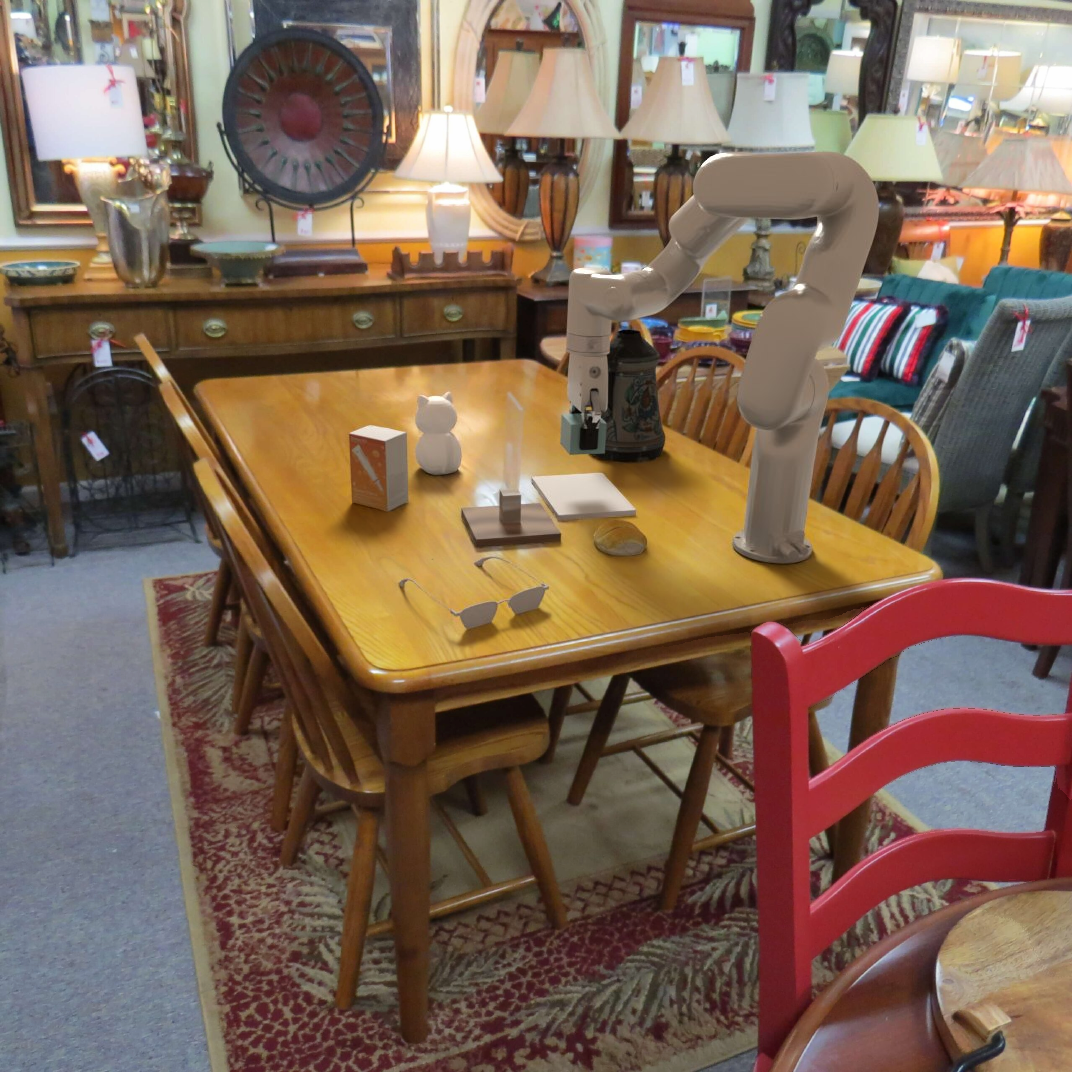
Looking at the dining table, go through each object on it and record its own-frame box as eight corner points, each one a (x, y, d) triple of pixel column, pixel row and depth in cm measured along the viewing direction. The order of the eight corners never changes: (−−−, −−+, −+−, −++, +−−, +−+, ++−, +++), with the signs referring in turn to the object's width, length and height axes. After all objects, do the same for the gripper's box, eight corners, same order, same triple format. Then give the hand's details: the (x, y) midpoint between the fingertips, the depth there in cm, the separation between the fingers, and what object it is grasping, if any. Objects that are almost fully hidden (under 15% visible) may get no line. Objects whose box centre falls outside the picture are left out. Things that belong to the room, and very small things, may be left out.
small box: (351, 503, 173) (347, 432, 168) (373, 493, 179) (370, 423, 174) (387, 512, 170) (385, 440, 165) (409, 501, 175) (407, 431, 170)
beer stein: (669, 443, 211) (679, 327, 201) (654, 471, 193) (664, 345, 184) (594, 436, 215) (600, 321, 205) (573, 462, 197) (578, 338, 188)
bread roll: (633, 534, 164) (635, 512, 163) (652, 555, 156) (654, 532, 155) (586, 537, 162) (587, 515, 161) (602, 559, 154) (603, 536, 153)
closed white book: (635, 515, 171) (636, 509, 171) (558, 520, 168) (558, 515, 168) (601, 477, 189) (602, 472, 189) (531, 481, 186) (531, 476, 186)
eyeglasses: (456, 637, 131) (456, 610, 129) (392, 587, 144) (391, 562, 142) (549, 608, 139) (550, 583, 137) (480, 563, 152) (480, 540, 151)
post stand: (560, 541, 160) (562, 504, 157) (476, 548, 157) (476, 510, 154) (540, 510, 172) (541, 475, 170) (461, 516, 169) (461, 480, 167)
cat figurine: (449, 459, 198) (447, 386, 192) (475, 477, 187) (474, 400, 182) (407, 465, 194) (404, 390, 188) (431, 484, 183) (429, 405, 178)
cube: (604, 453, 173) (606, 423, 171) (569, 454, 172) (571, 424, 170) (594, 442, 179) (595, 413, 177) (560, 443, 177) (561, 414, 175)
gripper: (625, 354, 161) (617, 457, 168) (594, 332, 176) (588, 428, 184) (581, 355, 159) (575, 459, 166) (554, 332, 175) (550, 429, 182)
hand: (582, 442), depth 175 cm, fingers closed on cube, 6 cm apart
